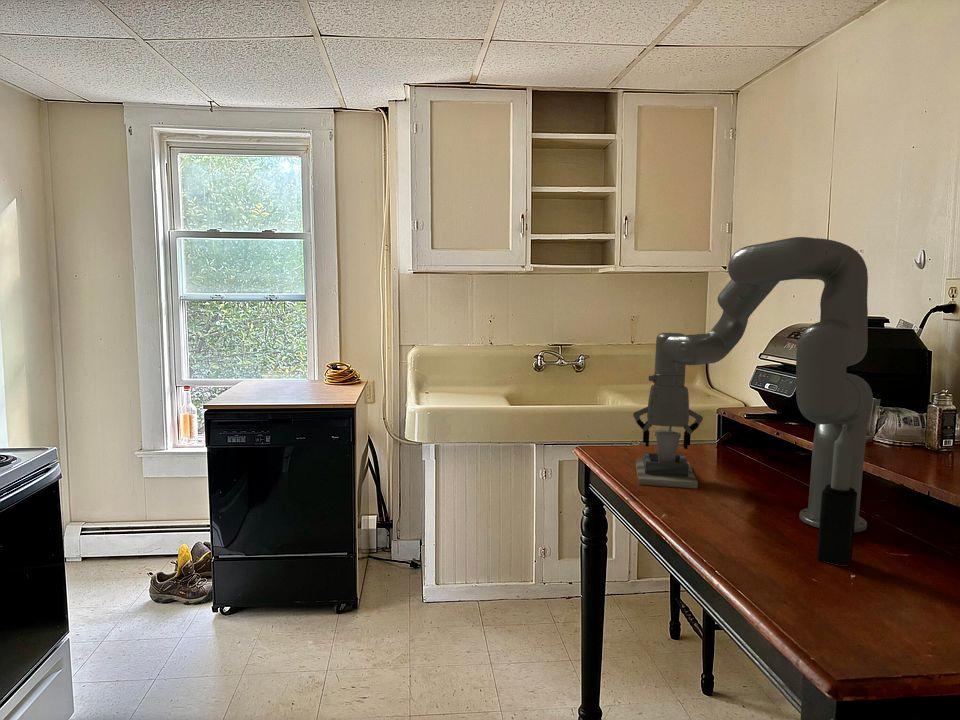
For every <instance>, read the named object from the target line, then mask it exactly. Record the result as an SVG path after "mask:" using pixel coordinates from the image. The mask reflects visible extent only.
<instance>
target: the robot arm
mask: <svg viewBox="0 0 960 720" xmlns="http://www.w3.org/2000/svg"><path fill="white" fill-rule="evenodd" d="M733 253H734V254H733V255H732V256H731V257H730V259H729V262H728V265H727V271H728V272H727V273H728V276H729V277H730V280H729V281H728V282H727V284H726V285H725V287H724V288H723V289H722V290H721V291H720V293H719V294H718V296H717V303H718V306H719V307H720V308H721V310H722V314H721V316H720V318H719V320H717V322H716V324H715V325H714V326H713V327H712V328H711V329H710V331H709V332H708V333H695V334H685V333H680V332H661V333H659V334H658V335H657V336H656V340H655V341H656V342H655V356H654V357H655V358H654V362H655V363H654V373H653V374H652V375H648V382H652V383H653V384H652V385H651V386H650V390H649V395H648V401H647V406H646V407H643V408H642V409H639V410H636V411H635V412H632V416H633V418H634V420H635V422H636V425H638V426H639V428H641V429H642V431H643V432H642V443H644V445H645V447H650V430H649V429H650V428H651V427H652V426H658V427H659V426H661V427H669V426H672V428H673V427H675V428H683V429H684V432H683V441H682V442H683V444H682V445H683V449H685V450H688V446H691V436H692V435H691V434H693V432H695V430H697V429H698V428H699V426H700V425H701V423H702V421H703V420H704V417H703V416H702V414H698V413H696V412H695V411H693V410H692V409H690V397H689V389H688V387H687V386H685V382H686V367H687V366H700V365H708V364H709V365H710V364H716V363H718V362H720V361H722V360H723V359H725V357H726V356H727V355H729V354H730V352H732V350H734V348H735V347H736V346H737V345H738V343H739V342H740V341H741V339H742V338H743V335H744V334H745V332H746V329H747V326H748V322H749V318H750V317H751V315H752V314H753V313H754V311H755V310H756V309H757V308H758V307H759V306H760V305H761V303H762V302H763V301H764V300H765V299H766V298H767V297H768V296H769V295H770V293H772V291H773V289H775V287H777V285H778V284H779V283H780V282H782V281H790V280H791V281H792V280H819V281H822V282H823V285H824V286H823V289H822V292H821V296H820V302H819V303H820V304H819V305H820V306H819V307H820V317H819V318H820V320H819V321H817V322H815V323H812V324H811V325H809V326H807V328H805V329H804V330H803V331H802V333H801V334H800V337H799V338H798V342H797V344H796V353H795V354H796V357H795V358H796V359H795V361H796V362H795V365H796V367H795V369H796V370H795V396H796V397H795V398H796V403H797V407H798V410H799V411H800V413H801V415H802V416H803V417H804V418H805V419H806V420H808V421H810V422H811V423H814V424H816V425H815V429H814V434H813V442H812V453H811V467H810V477H809V479H810V480H809V493H808V505H807V507H806V508H804V509H801V510H800V511H799V515H798V516H799V520H801V521H802V522H803V523H805V524H807V525H809V526H811V527H814V528H817V529H819V525H820V512H821V500H822V491H823V490H824V489H825V488H826V486H827V485H829V484H831V479H832V466H833V454H834V443H835V441H836V440H837V439H838V438H839V436H840V434H841V432H842V429H843V427H842V426H843V425H847V426H848V428H847V431H848V435H849V439H850V440H851V442H852V444H853V450H852V462H851V474H850V486H849V487H851V488H853V489H854V490H855V491H856V492H857V502H856V514H855V526H854V534H855V533H861V532H863V531H865V530H867V527H868V522H867V521H866V519H864V518H863V517H862V516H860V508H861V507H860V506H861V497H862V496H861V495H862V483H863V474H864V473H863V472H864V471H863V470H864V464H865V463H864V461H865V453H866V445H867V443H866V442H867V435H868V434H867V433H868V429H869V423H870V419H871V415H872V411H873V405H874V396H873V395H874V394H873V392H872V388H871V387H870V385H869V383H868V382H867V381H866V380H865V379H864V378H862V377H861V376H858V375H857V374H853V373H848V372H847V368H848V367H851V366H854V365H856V364H858V363H860V362H861V361H862V360H863V359H864V358H865V357H866V354H867V352H868V343H869V342H868V341H869V339H868V332H869V331H868V326H869V325H868V324H869V321H868V315H869V313H868V312H869V311H868V290H869V289H868V288H869V287H868V286H869V276H868V275H869V273H868V268H867V264H866V262H865V260H864V258H863V257H862V255H861V254H860V253H859V252H858V250H856V249H854V248H853V247H852V246H849V245H847V244H845V243H842V242H840V241H836V240H833V239H828V238H819V237H816V238H815V237H808V236H796V237H789V238H782V239H778V240H773V241H768V242H762V243H758V244H752V245H747V246H743V247H741V248H739V249H738V250H736V251H735V252H733ZM645 414H646V417H647V421H645V423H644V421H643V420H642V419H641V416H643V415H645ZM690 417H692V418H694V419H695V420H694V422H693V423H692V424H690V425H689V422H690V421H689V420H690Z"/></svg>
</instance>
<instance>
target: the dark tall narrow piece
mask: <svg viewBox="0 0 960 720" xmlns="http://www.w3.org/2000/svg"><path fill="white" fill-rule="evenodd" d="M842 427H843V429H842V432H841V434H840V436H839V438H838V439H837V440H836V441H835V443H834V454H833V466H832V479H831V484H829V485H827V486H826V488H825V489H824V490H823V491H822V500H821V512H820V525H819V528H818V529H819V530H818V538H817V539H818V540H817V542H818V543H817V550H816V551H817V553H816V560H817V559H818V561H819V560H820V561H819V562H821V561H825V562H829V563H833V564H838V565H848V566H849V564H850V562H851V561H850V560H852V559H853V549H854V547H853V546H854V535H855V533H854V526H855V514H856V502H857V492H856V491H855V490H854V489H853V488H851V487H849V486H850V474H851V462H852V450H853V444H852V442H851V440H850V439H849V435H848V431H847V428H848V426H847V425H843V426H842ZM849 561H850V562H849ZM852 561H853V560H852ZM825 562H824V563H825Z"/></svg>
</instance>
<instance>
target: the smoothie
mask: <svg viewBox="0 0 960 720" xmlns="http://www.w3.org/2000/svg"><path fill="white" fill-rule="evenodd" d="M672 428H673V426H668V429H658V430H656V431H655V434H654V435H655V436H654V437H656V451H657V452H656V453H658V462H669V463H675V459H676V454H678V447H679V442H680V438H681V434H682V433H681V432H680V431H677V430H672Z"/></svg>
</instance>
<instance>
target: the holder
mask: <svg viewBox="0 0 960 720" xmlns="http://www.w3.org/2000/svg"><path fill="white" fill-rule="evenodd" d="M635 469H636V470H635V471H636V476H637V483H638V485H643V486H654V487H655V486H656V487H671V488H683V489H684V488H685V489H696V490H697V489H698V488H699V487H698V486H699V482H698V479H697V478H696V475H695V473H694V471H693V469H692V467H691V464H690V462H689V461H687V459H686V456H685V454H678V453H676V459H675V463H669V462H658V452H648V451H647V452H645V451H644V452H643V458H640V457H639V458H635Z"/></svg>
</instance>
